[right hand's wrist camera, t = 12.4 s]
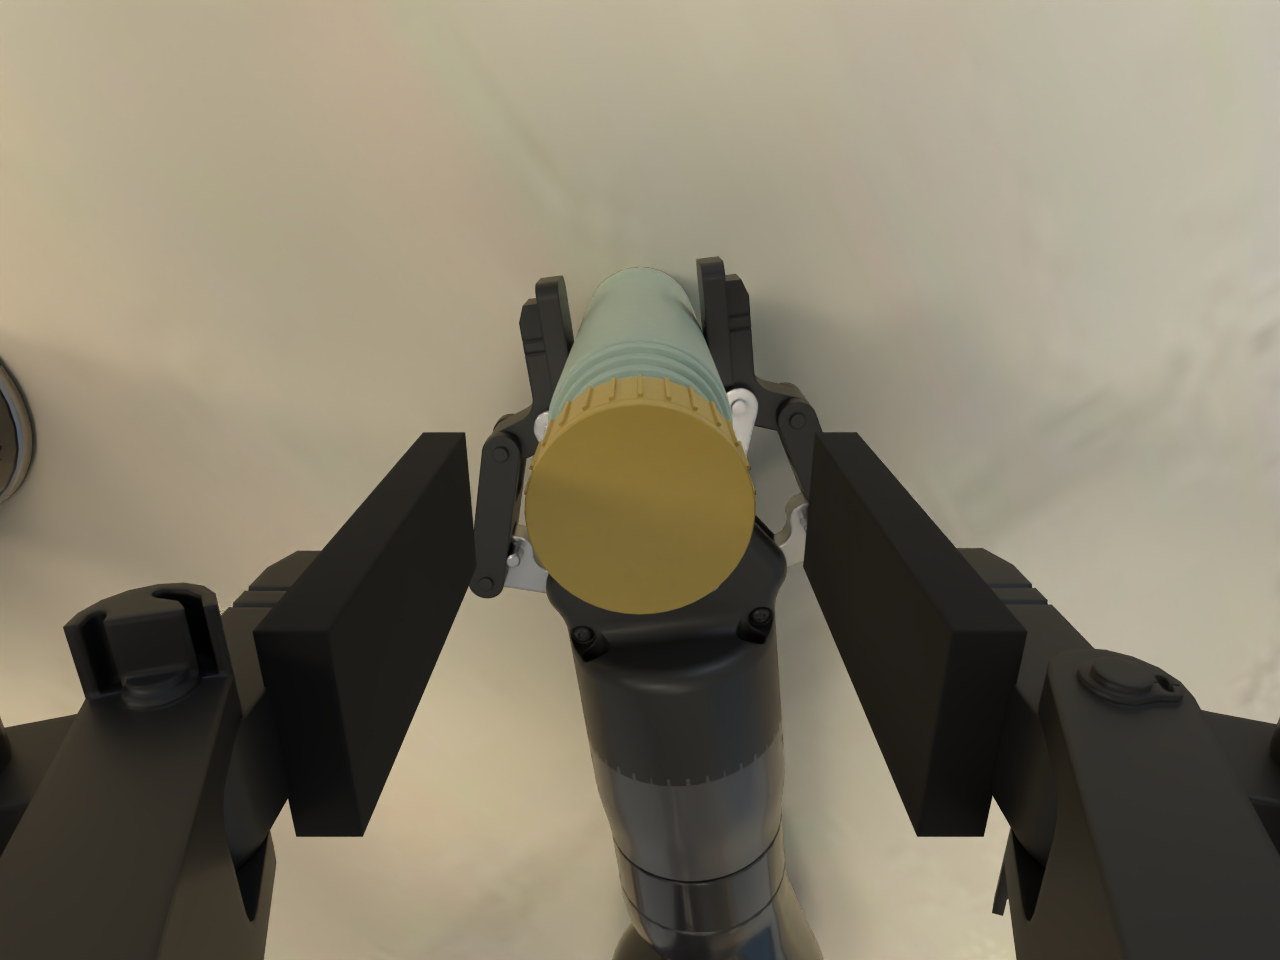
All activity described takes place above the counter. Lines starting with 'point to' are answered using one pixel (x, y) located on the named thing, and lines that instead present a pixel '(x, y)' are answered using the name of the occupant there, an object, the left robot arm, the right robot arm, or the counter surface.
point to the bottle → (640, 340)
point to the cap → (640, 496)
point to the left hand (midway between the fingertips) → (628, 272)
